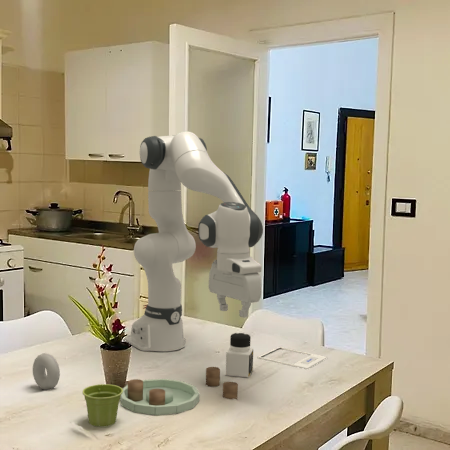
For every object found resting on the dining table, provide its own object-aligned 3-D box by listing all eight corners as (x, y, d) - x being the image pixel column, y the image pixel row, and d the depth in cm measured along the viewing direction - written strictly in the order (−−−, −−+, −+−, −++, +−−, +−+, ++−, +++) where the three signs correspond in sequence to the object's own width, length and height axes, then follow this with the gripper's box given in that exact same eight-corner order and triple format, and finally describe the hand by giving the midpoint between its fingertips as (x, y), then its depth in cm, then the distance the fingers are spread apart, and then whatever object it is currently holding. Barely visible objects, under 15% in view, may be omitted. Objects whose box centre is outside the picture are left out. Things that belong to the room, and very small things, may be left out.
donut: (62, 392, 175) (62, 356, 174) (51, 395, 173) (51, 359, 172) (40, 383, 182) (40, 348, 180) (29, 386, 179) (29, 351, 178)
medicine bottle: (248, 377, 192) (250, 338, 190) (225, 375, 193) (226, 336, 192) (252, 370, 199) (254, 332, 197) (229, 368, 200) (231, 330, 199)
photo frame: (307, 367, 201) (257, 356, 211) (307, 371, 201) (257, 359, 211) (327, 356, 213) (279, 346, 223) (327, 359, 213) (279, 349, 223)
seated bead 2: (145, 408, 163) (145, 391, 162) (158, 404, 166) (158, 387, 165) (155, 413, 160) (156, 395, 159) (168, 409, 163) (168, 391, 162)
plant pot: (84, 418, 159) (85, 383, 158) (123, 418, 160) (124, 383, 159) (79, 434, 149) (79, 397, 149) (120, 434, 150) (121, 397, 149)
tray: (105, 402, 169) (105, 390, 169) (164, 385, 183) (165, 374, 183) (153, 426, 155) (153, 413, 155) (213, 405, 169) (214, 393, 169)
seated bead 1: (124, 398, 169) (124, 381, 169) (136, 394, 172) (137, 378, 171) (133, 402, 166) (133, 385, 166) (146, 399, 169) (146, 382, 169)
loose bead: (219, 400, 173) (219, 383, 173) (229, 396, 176) (230, 380, 176) (229, 404, 171) (230, 387, 170) (240, 400, 173) (241, 384, 173)
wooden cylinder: (202, 384, 185) (203, 368, 185) (212, 380, 188) (213, 365, 188) (212, 387, 183) (212, 372, 182) (222, 384, 185) (222, 369, 185)
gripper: (202, 259, 181) (203, 308, 182) (245, 268, 164) (245, 322, 165) (221, 257, 185) (221, 305, 186) (265, 266, 168) (265, 319, 169)
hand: (233, 313), depth 175 cm, fingers open, 8 cm apart
